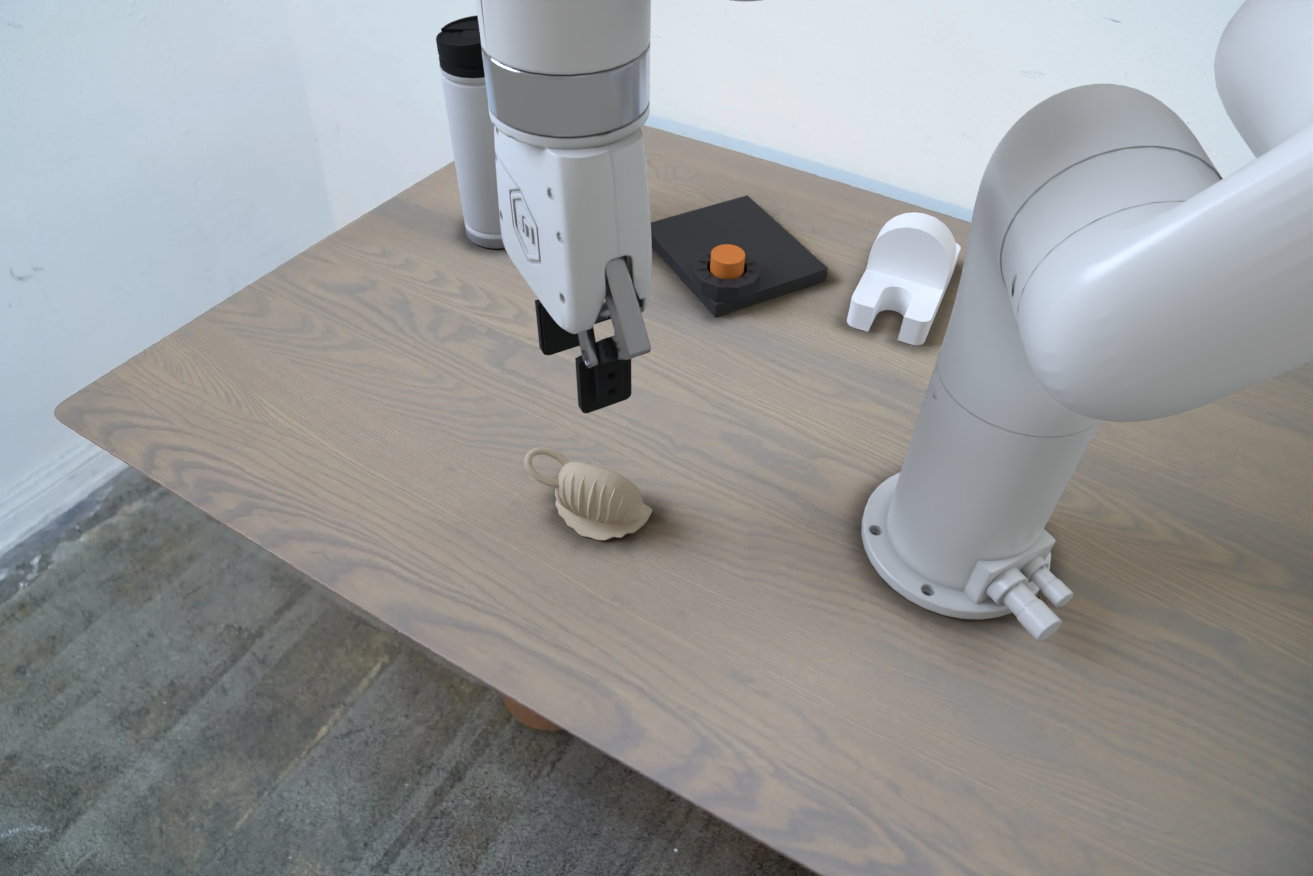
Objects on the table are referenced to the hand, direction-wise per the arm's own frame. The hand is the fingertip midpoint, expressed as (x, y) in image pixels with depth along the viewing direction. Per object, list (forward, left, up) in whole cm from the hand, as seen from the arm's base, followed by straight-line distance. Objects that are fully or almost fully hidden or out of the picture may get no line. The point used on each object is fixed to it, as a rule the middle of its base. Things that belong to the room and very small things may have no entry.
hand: (584, 371), depth 54 cm
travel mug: (+36, -7, -14) cm, 39 cm away
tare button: (+18, -21, -11) cm, 30 cm away
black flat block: (+22, -25, -13) cm, 36 cm away
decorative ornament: (0, 0, -14) cm, 14 cm away
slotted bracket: (+10, -36, -14) cm, 40 cm away
